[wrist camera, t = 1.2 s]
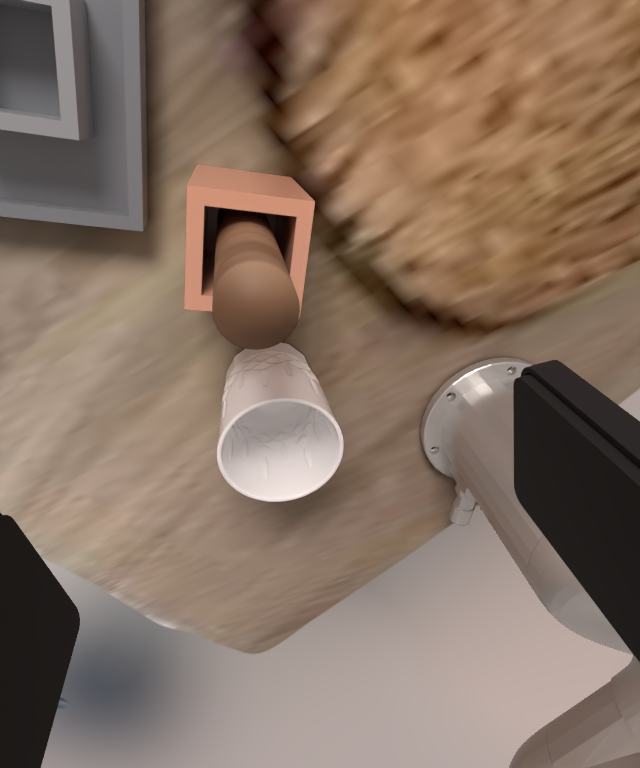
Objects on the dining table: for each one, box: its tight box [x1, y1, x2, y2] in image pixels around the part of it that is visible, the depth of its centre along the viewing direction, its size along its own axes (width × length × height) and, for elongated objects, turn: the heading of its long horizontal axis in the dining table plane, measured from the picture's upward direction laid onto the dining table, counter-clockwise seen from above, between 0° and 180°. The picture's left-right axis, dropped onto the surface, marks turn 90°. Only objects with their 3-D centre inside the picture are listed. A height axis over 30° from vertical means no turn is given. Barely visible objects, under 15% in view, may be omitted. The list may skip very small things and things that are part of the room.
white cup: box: [217, 343, 344, 502], centre depth 35 cm, size 8×8×10 cm
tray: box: [0, 0, 148, 232], centre depth 26 cm, size 16×12×4 cm
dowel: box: [212, 208, 300, 350], centre depth 26 cm, size 3×3×17 cm
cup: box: [185, 164, 315, 318], centre depth 29 cm, size 6×6×10 cm
